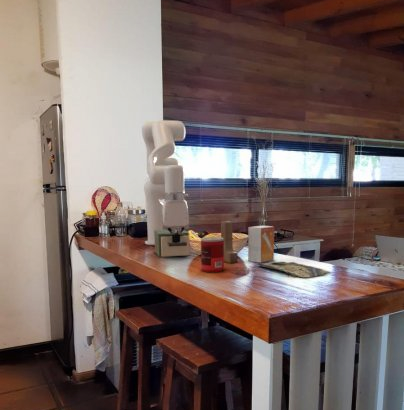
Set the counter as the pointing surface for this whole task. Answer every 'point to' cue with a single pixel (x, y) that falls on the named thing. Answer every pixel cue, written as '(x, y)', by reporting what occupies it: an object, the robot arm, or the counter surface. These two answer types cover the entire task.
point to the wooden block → (228, 242)
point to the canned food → (212, 254)
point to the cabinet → (158, 242)
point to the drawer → (175, 246)
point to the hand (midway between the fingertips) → (176, 244)
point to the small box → (260, 243)
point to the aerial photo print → (296, 269)
